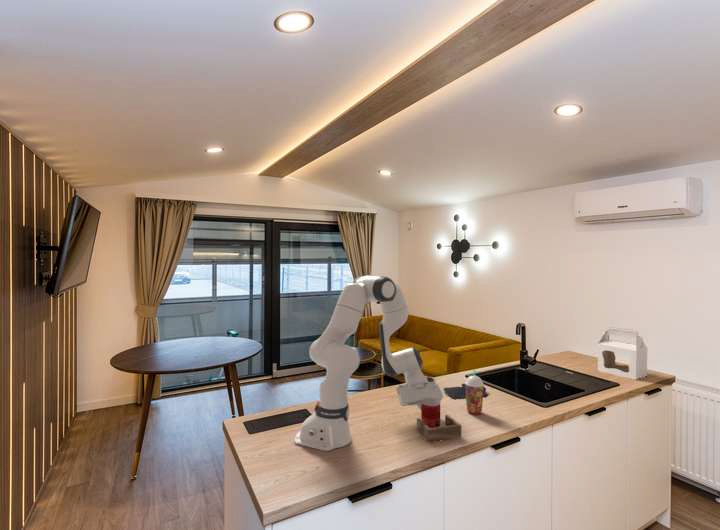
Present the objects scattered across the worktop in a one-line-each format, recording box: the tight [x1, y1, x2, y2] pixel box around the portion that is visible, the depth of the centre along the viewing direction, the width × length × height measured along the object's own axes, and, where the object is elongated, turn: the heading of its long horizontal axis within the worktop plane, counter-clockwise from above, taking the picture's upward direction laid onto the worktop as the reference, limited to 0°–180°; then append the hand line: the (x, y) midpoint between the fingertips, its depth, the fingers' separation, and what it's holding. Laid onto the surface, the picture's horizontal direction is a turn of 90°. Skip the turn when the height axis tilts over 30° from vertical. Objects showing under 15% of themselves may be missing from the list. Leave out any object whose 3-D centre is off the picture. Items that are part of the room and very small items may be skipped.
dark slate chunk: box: [443, 383, 489, 400], centre depth 204 cm, size 15×22×5 cm
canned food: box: [420, 398, 441, 428], centre depth 163 cm, size 8×8×11 cm
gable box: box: [597, 326, 648, 380], centre depth 237 cm, size 22×13×28 cm, turn 31°
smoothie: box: [464, 369, 485, 416], centre depth 178 cm, size 8×8×20 cm
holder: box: [416, 414, 462, 443], centre depth 157 cm, size 11×14×5 cm
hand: (425, 412), depth 168 cm, fingers closed, pressing on canned food
